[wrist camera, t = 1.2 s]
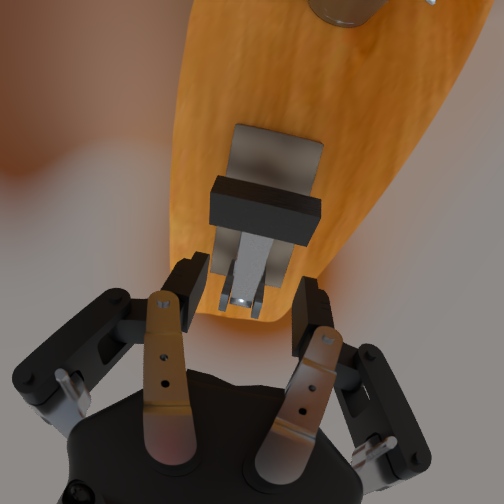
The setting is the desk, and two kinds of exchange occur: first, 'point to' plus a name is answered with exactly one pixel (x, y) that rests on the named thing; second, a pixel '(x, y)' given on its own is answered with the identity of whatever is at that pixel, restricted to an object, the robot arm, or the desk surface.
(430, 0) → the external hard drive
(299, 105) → the desk surface
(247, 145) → the base
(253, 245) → the lever
